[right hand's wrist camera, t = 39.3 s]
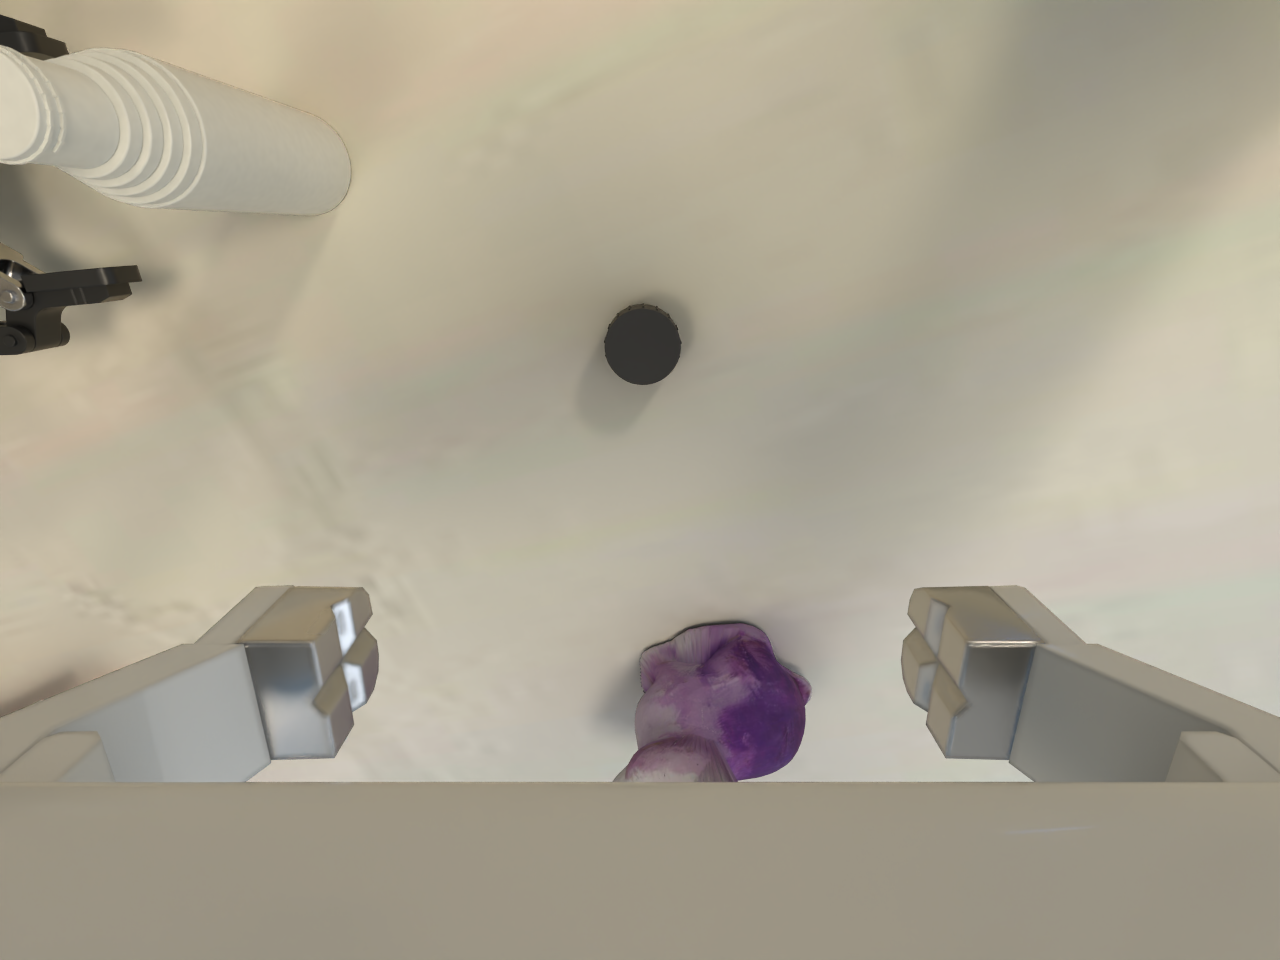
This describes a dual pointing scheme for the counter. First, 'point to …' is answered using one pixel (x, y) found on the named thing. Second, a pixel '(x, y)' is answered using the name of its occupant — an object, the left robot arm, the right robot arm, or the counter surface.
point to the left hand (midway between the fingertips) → (92, 166)
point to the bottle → (167, 135)
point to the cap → (642, 344)
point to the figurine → (716, 708)
